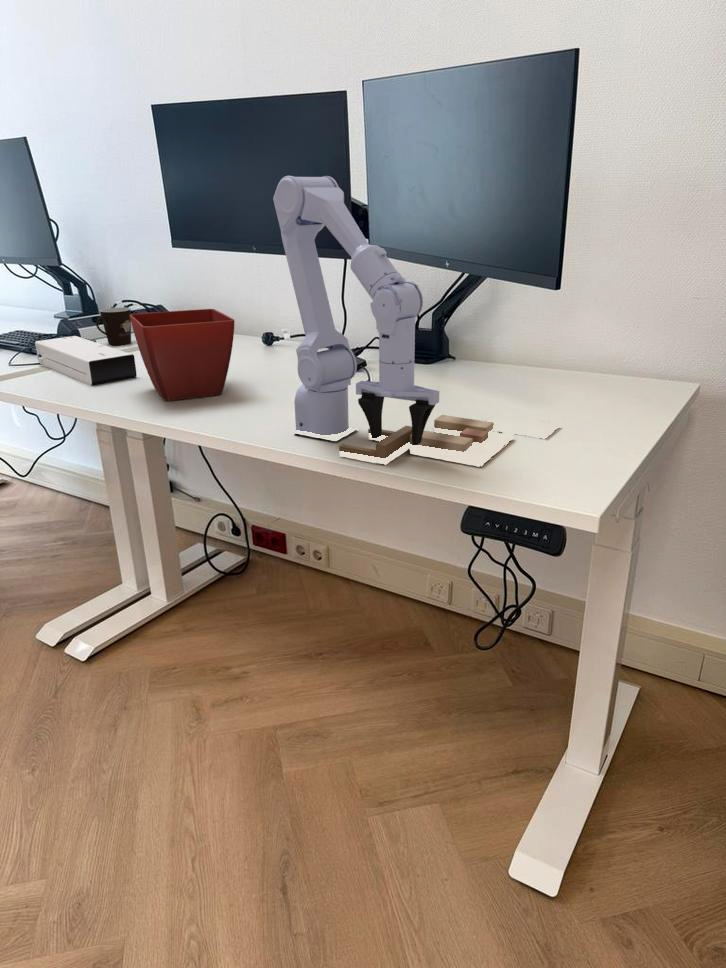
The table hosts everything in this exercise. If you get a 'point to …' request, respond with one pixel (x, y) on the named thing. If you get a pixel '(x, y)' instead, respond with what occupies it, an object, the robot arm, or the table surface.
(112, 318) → the coffee mug
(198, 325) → the plant pot
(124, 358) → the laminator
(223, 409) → the table surface
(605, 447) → the table surface
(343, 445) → the wooden c-shaped piece
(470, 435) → the wooden u-shaped block
